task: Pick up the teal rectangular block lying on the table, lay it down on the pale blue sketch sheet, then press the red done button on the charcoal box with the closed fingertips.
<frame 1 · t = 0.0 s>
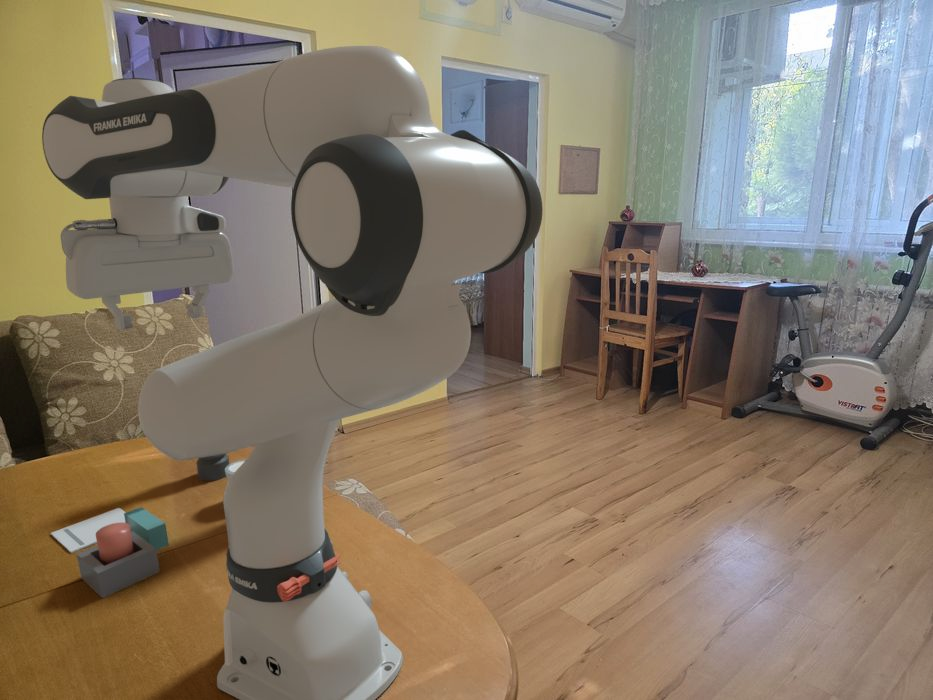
hand: (161, 322, 80), 39 cm above the table, tool pointing down, fingers open, 8 cm apart
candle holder: (214, 475, 124), on the table
button box: (120, 574, 90), on the table
done button: (115, 545, 89), point 5 cm above the table, slide at 0.0 cm
teal rectangular block: (147, 539, 100), on the table
sketch sheet: (96, 529, 103), on the table
shot glass: (248, 501, 113), on the table
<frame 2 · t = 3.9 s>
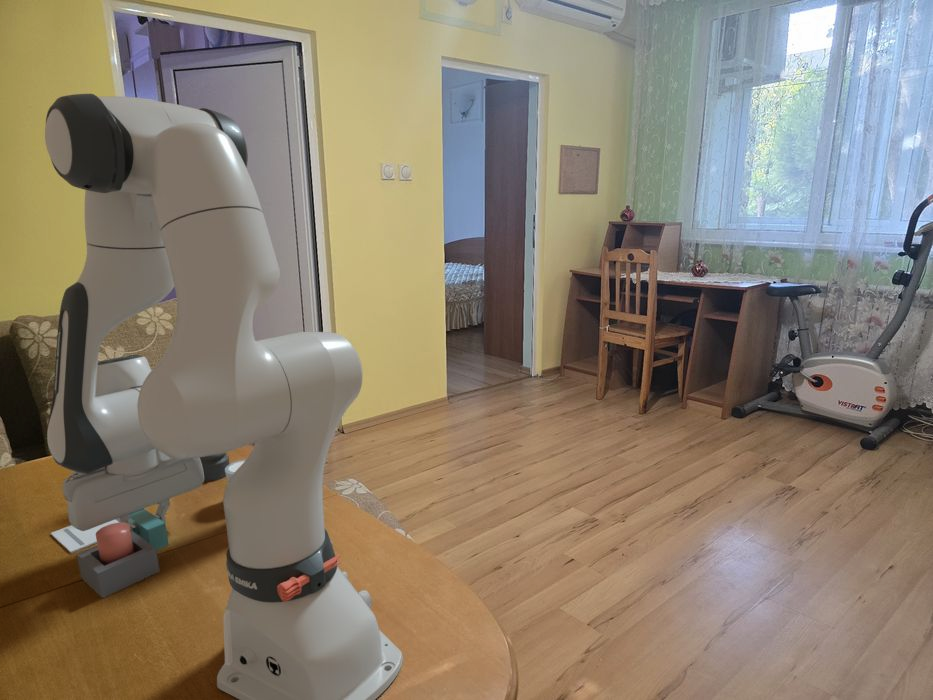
hand: (146, 530, 100), 2 cm above the table, tool pointing down, fingers closed on teal rectangular block, 3 cm apart
teal rectangular block: (147, 539, 100), on the table, touching gripper
everything else where it was.
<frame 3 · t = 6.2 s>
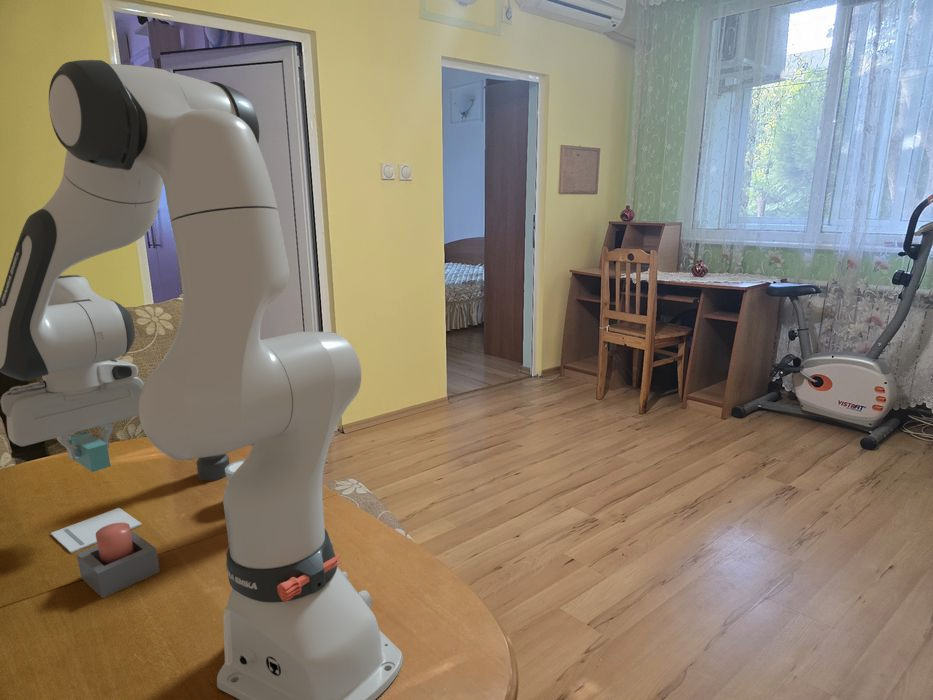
hand: (89, 453, 101), 14 cm above the table, tool pointing down, fingers closed on teal rectangular block, 3 cm apart
teal rectangular block: (90, 462, 101), point 12 cm above the table, touching gripper
everything else where it was.
when the fingers open (3 cm above the table, at t = 8.5 s): teal rectangular block drops 1 cm, resting on sketch sheet.
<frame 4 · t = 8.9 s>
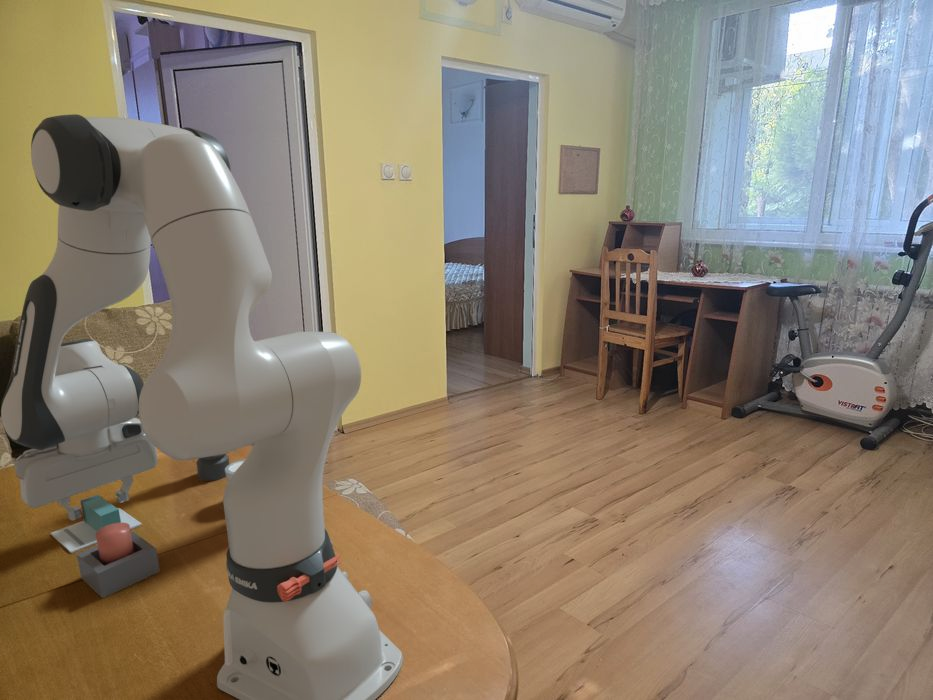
hand: (100, 509, 103), 3 cm above the table, tool pointing down, fingers open, 6 cm apart
teal rectangular block: (102, 525, 104), resting on sketch sheet
everything else where it was.
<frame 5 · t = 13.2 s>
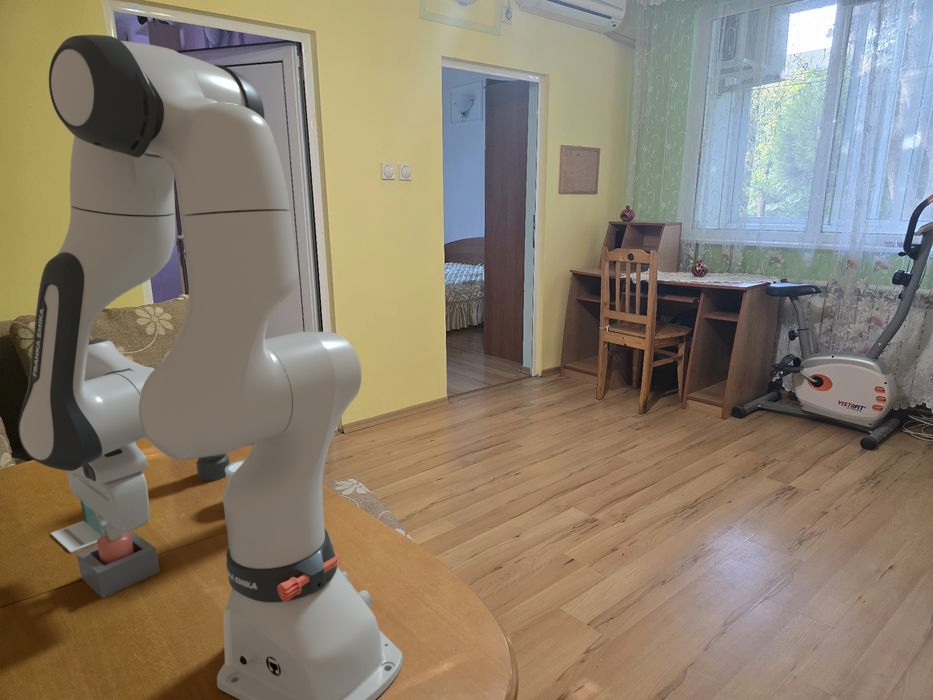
hand: (112, 536, 89), 6 cm above the table, tool pointing down, fingers closed, pressing on done button
done button: (116, 552, 89), point 4 cm above the table, slide at -1.2 cm, touching gripper
everything else where it was.
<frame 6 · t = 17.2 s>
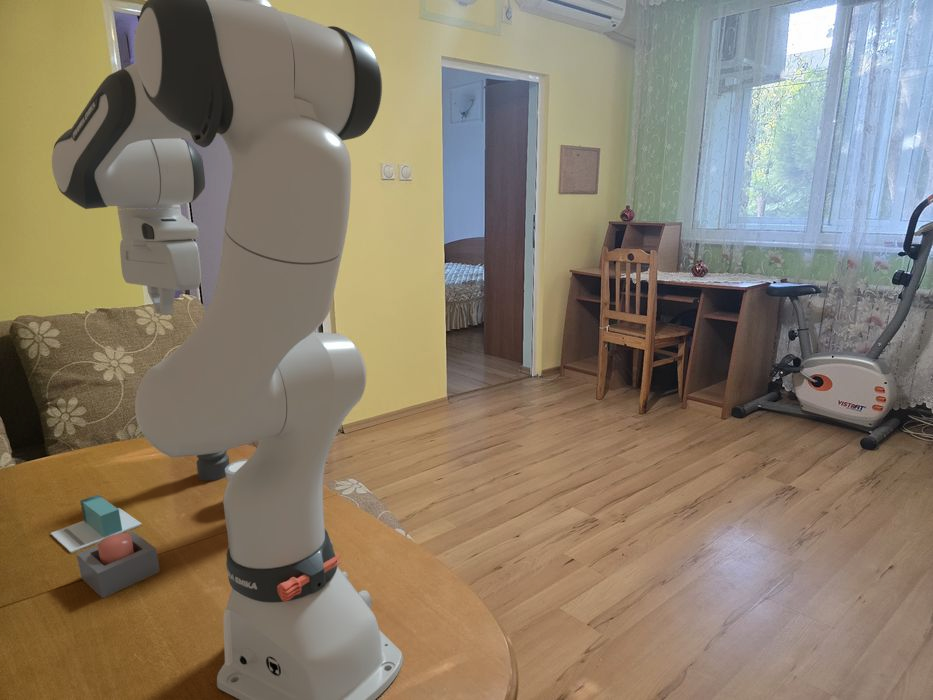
hand: (164, 314, 97), 37 cm above the table, tool pointing down, fingers closed
done button: (117, 555, 90), point 3 cm above the table, slide at -1.8 cm
everything else where it was.
at the end: teal rectangular block inside the target area (1.0 cm from its centre), resting on sketch sheet; done button slide at -1.8 cm; the gripper is holding nothing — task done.
